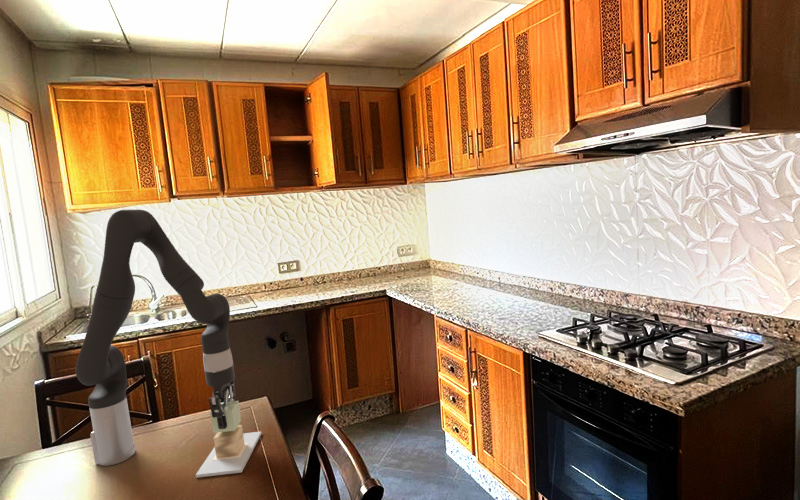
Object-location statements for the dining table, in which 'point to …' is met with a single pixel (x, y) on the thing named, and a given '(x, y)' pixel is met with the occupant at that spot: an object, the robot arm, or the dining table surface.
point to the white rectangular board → (229, 459)
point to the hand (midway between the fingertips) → (226, 422)
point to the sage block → (228, 417)
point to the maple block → (229, 442)
